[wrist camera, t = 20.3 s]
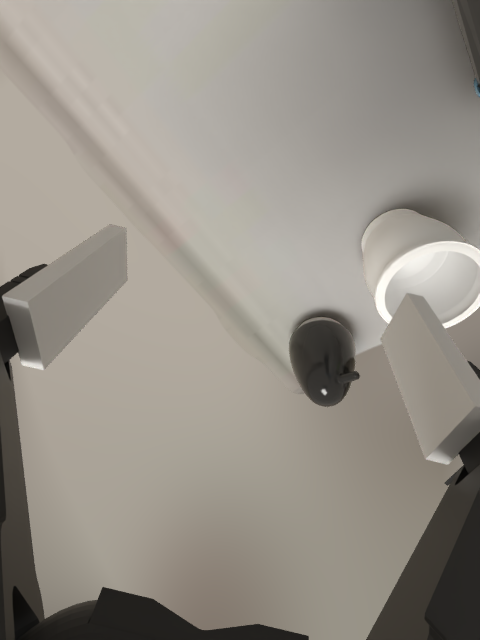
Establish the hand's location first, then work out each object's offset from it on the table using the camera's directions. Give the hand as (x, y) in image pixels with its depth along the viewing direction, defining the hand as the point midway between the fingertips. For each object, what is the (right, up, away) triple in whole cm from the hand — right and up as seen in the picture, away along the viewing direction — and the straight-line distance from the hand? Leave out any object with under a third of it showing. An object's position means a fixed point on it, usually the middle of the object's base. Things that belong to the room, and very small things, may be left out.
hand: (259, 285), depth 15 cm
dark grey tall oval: (+13, -4, +39) cm, 42 cm away
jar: (+20, +10, +29) cm, 37 cm away
